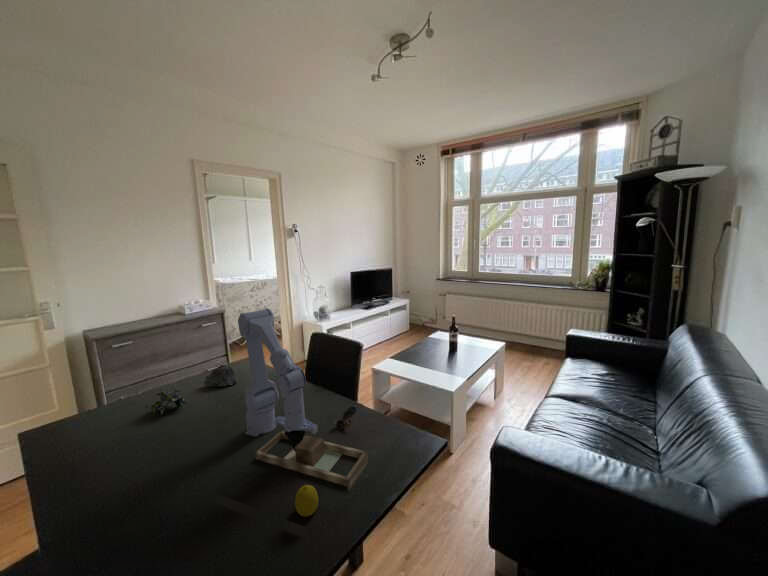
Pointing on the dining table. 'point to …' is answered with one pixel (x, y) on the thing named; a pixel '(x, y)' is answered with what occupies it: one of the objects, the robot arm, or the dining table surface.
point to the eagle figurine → (345, 418)
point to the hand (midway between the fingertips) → (297, 449)
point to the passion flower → (169, 398)
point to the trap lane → (323, 465)
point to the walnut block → (309, 450)
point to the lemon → (306, 500)
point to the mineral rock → (222, 376)
